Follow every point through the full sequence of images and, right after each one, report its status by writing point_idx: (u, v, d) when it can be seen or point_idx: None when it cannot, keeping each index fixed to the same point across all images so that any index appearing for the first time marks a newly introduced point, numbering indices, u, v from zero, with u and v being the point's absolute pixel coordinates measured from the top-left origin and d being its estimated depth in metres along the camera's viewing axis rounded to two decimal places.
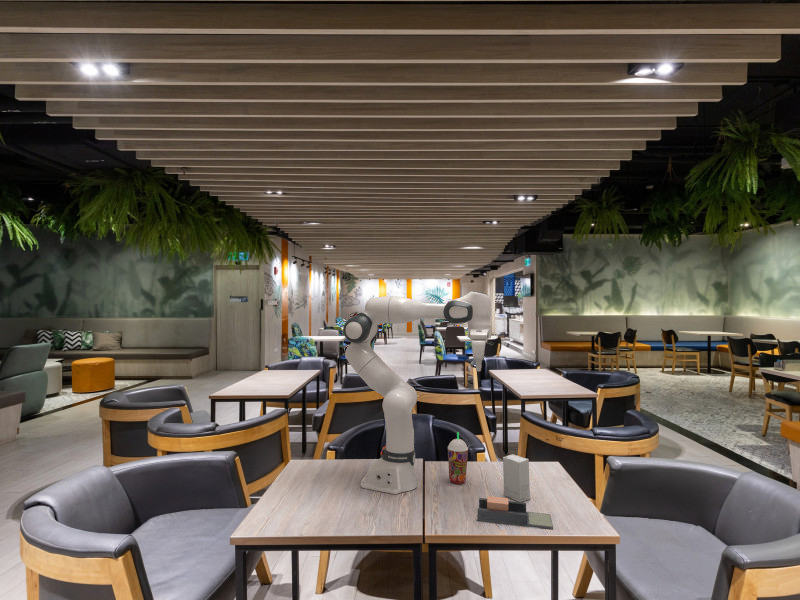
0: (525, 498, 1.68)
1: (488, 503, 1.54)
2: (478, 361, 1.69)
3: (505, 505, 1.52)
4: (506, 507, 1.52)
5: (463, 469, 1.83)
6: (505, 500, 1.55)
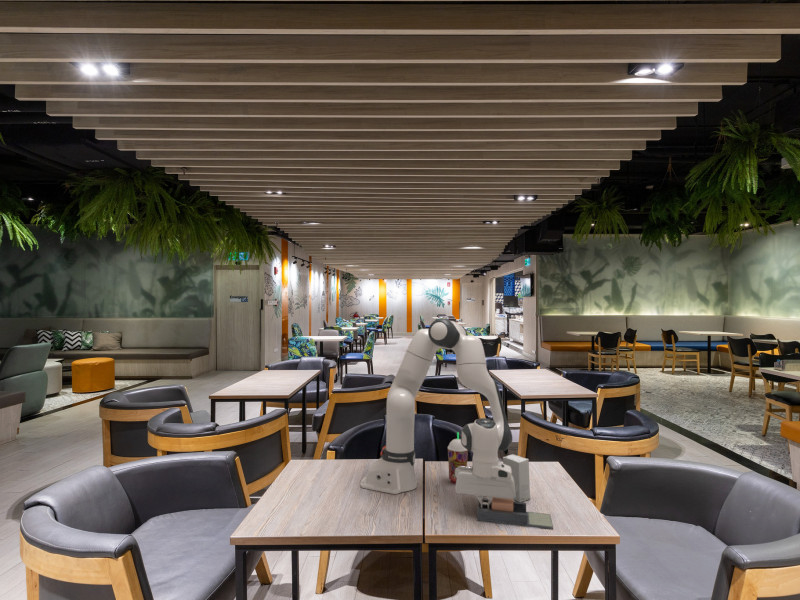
0: (525, 498, 1.68)
1: (493, 504, 1.53)
2: (492, 498, 1.56)
3: (510, 506, 1.52)
4: (511, 508, 1.52)
5: None
6: (509, 501, 1.55)
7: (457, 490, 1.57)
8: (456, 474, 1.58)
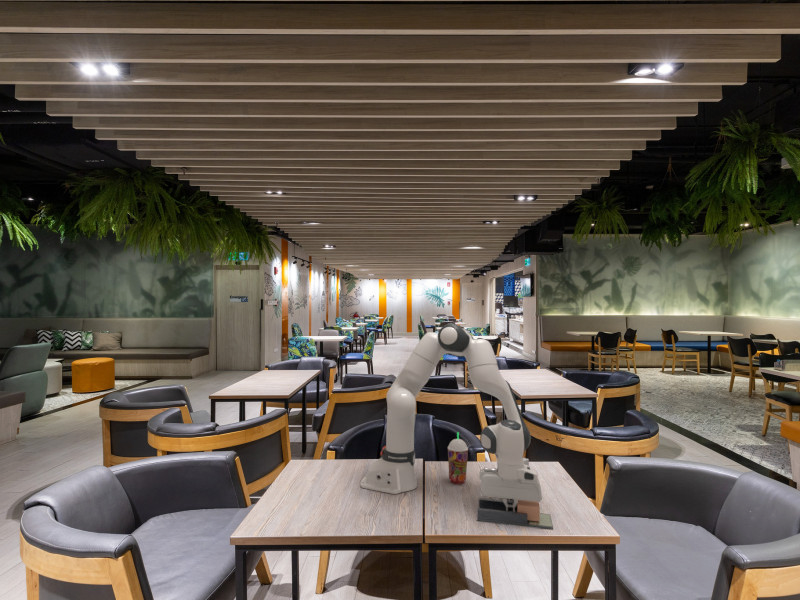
0: None
1: (519, 506, 1.51)
2: (517, 500, 1.54)
3: (536, 509, 1.50)
4: (537, 510, 1.50)
5: (463, 469, 1.83)
6: (535, 503, 1.53)
7: (482, 493, 1.55)
8: (481, 476, 1.56)
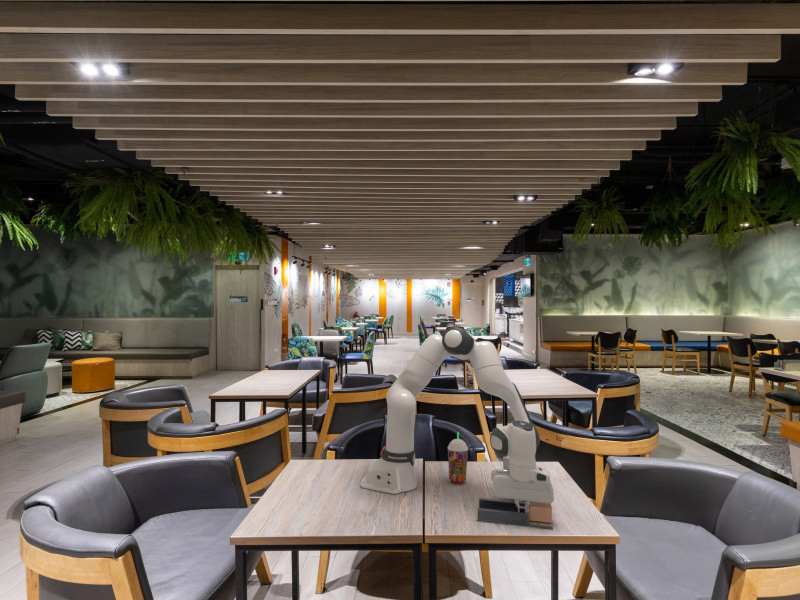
0: None
1: (531, 508, 1.51)
2: (529, 501, 1.53)
3: (548, 510, 1.49)
4: (550, 512, 1.49)
5: (463, 469, 1.83)
6: (547, 505, 1.52)
7: (493, 494, 1.54)
8: (492, 477, 1.56)
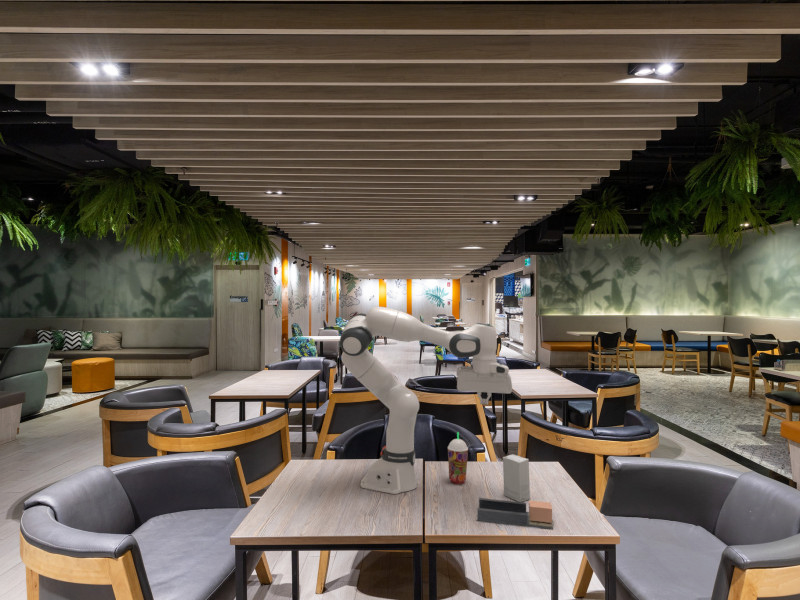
0: (525, 498, 1.68)
1: (531, 508, 1.51)
2: None
3: (549, 510, 1.49)
4: (550, 512, 1.49)
5: (463, 469, 1.83)
6: (547, 505, 1.52)
7: (458, 387, 1.70)
8: (457, 374, 1.72)
